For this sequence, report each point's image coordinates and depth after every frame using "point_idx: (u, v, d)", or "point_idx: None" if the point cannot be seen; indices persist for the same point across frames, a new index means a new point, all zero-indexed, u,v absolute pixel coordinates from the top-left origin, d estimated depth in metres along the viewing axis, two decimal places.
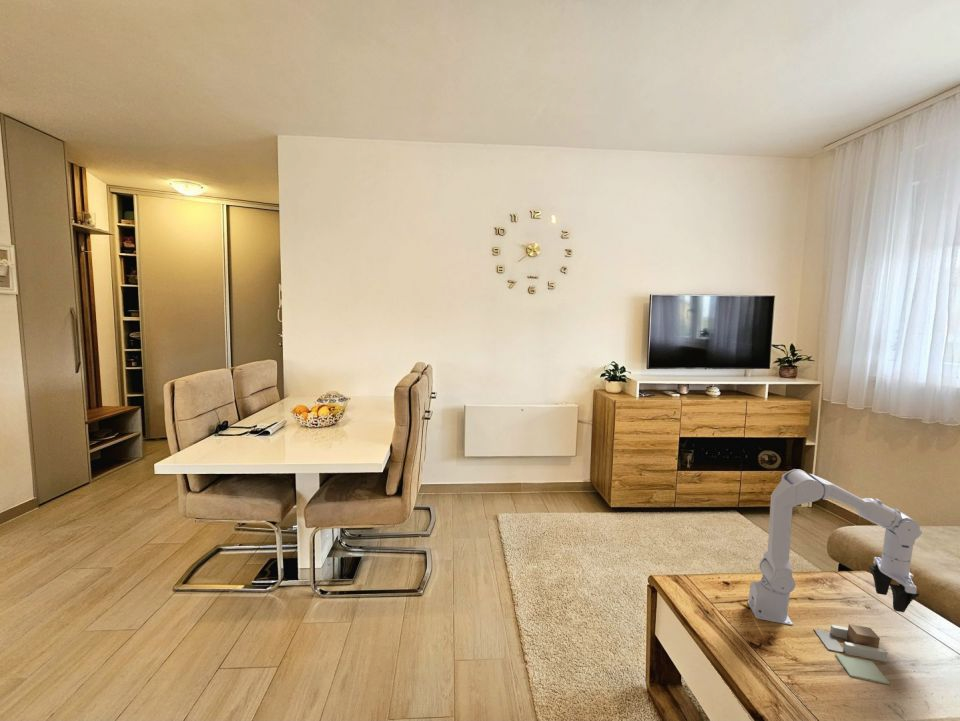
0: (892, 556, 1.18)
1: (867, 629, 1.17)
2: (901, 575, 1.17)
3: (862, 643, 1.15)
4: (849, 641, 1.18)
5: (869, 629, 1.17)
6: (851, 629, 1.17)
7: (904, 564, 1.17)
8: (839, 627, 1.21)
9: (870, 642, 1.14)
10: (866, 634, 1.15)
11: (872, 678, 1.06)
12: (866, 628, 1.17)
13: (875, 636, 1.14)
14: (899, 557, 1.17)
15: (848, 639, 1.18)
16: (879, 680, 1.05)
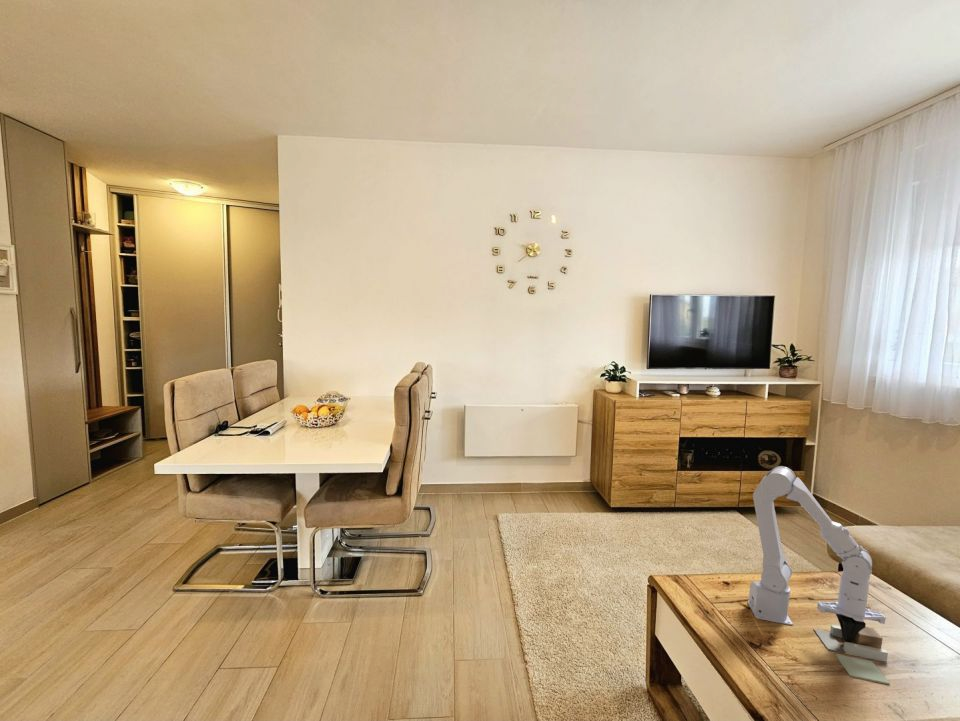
0: (842, 591, 1.16)
1: (870, 629, 1.16)
2: (838, 605, 1.17)
3: (865, 643, 1.14)
4: (852, 641, 1.18)
5: (872, 629, 1.17)
6: None
7: (841, 595, 1.16)
8: (839, 627, 1.21)
9: (872, 642, 1.14)
10: (869, 634, 1.15)
11: (872, 678, 1.06)
12: (868, 628, 1.17)
13: (878, 636, 1.14)
14: (848, 593, 1.14)
15: None
16: (879, 680, 1.05)
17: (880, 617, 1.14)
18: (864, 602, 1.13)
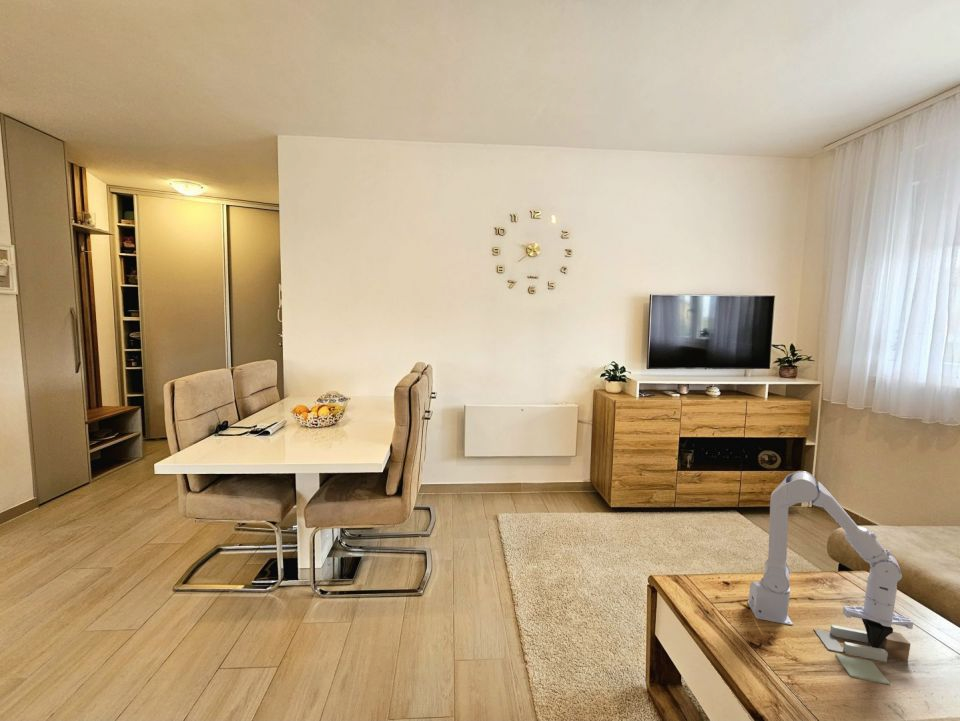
0: (870, 597, 1.14)
1: (897, 634, 1.15)
2: (865, 610, 1.16)
3: (892, 649, 1.13)
4: None
5: (899, 634, 1.15)
6: None
7: (867, 600, 1.15)
8: (839, 627, 1.21)
9: (900, 648, 1.12)
10: (896, 639, 1.13)
11: (872, 678, 1.06)
12: (895, 633, 1.15)
13: (906, 642, 1.12)
14: (877, 599, 1.13)
15: None
16: (879, 680, 1.05)
17: (908, 622, 1.12)
18: (892, 607, 1.12)
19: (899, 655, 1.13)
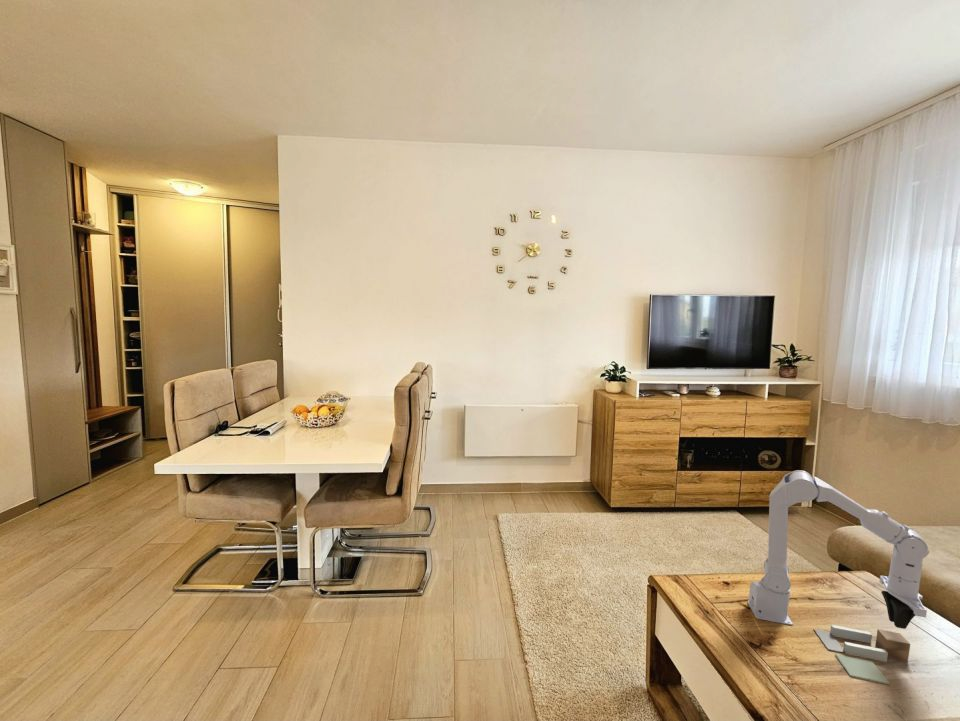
0: (896, 574, 1.12)
1: (897, 635, 1.15)
2: (910, 596, 1.10)
3: (892, 649, 1.13)
4: (878, 647, 1.16)
5: (899, 634, 1.15)
6: (880, 634, 1.16)
7: (913, 585, 1.10)
8: (839, 627, 1.21)
9: (900, 648, 1.12)
10: (896, 640, 1.13)
11: (872, 678, 1.06)
12: (895, 633, 1.15)
13: (906, 642, 1.12)
14: (903, 576, 1.11)
15: (876, 645, 1.17)
16: (879, 680, 1.05)
17: None
18: None
19: (899, 655, 1.13)
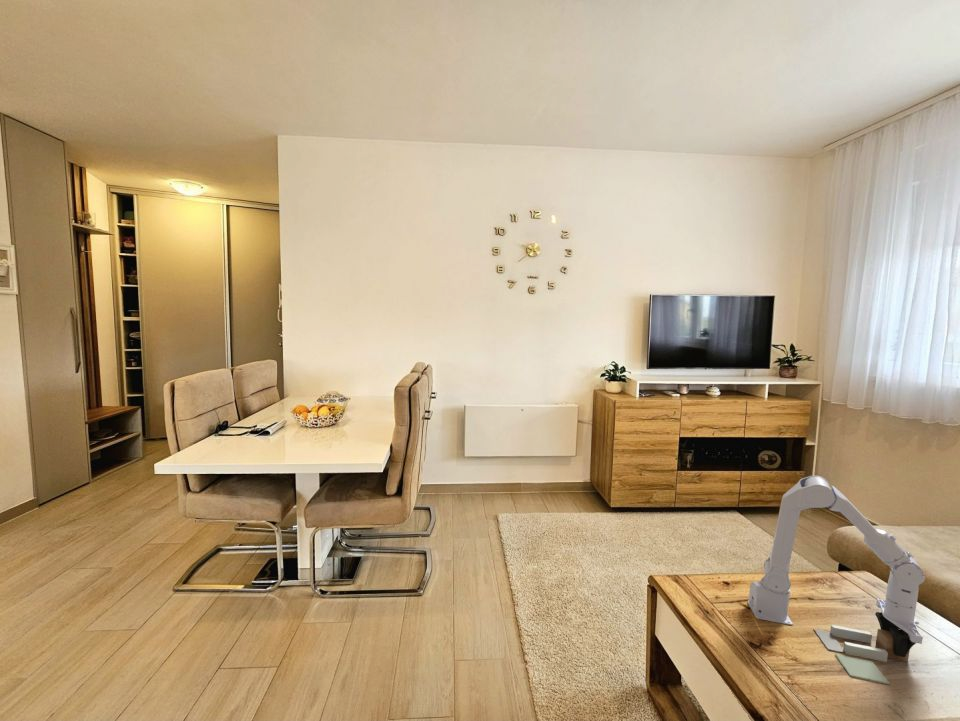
0: (892, 599, 1.13)
1: None
2: (906, 622, 1.11)
3: None
4: (878, 646, 1.16)
5: None
6: (880, 634, 1.16)
7: (909, 611, 1.11)
8: (839, 627, 1.21)
9: None
10: None
11: (872, 678, 1.06)
12: None
13: None
14: (899, 601, 1.11)
15: (877, 644, 1.17)
16: (879, 680, 1.05)
17: None
18: None
19: None
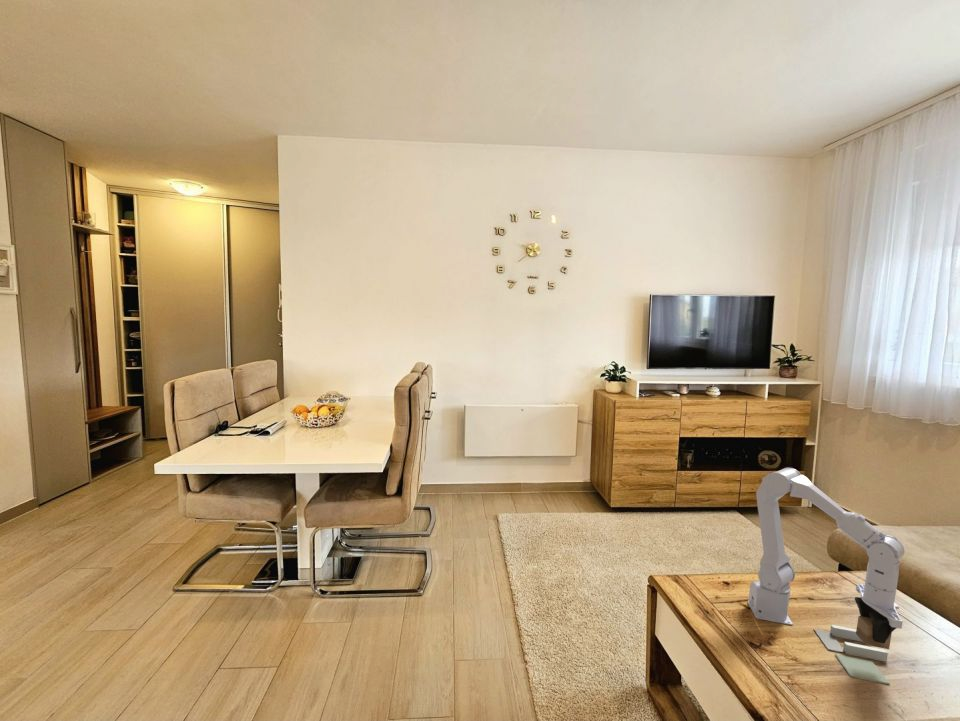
0: (867, 580, 1.09)
1: None
2: (886, 606, 1.06)
3: None
4: (859, 634, 1.11)
5: None
6: (861, 621, 1.10)
7: (889, 594, 1.05)
8: (839, 627, 1.21)
9: None
10: None
11: (872, 678, 1.06)
12: None
13: None
14: (872, 582, 1.07)
15: (857, 632, 1.12)
16: (879, 680, 1.05)
17: None
18: None
19: (880, 643, 1.08)
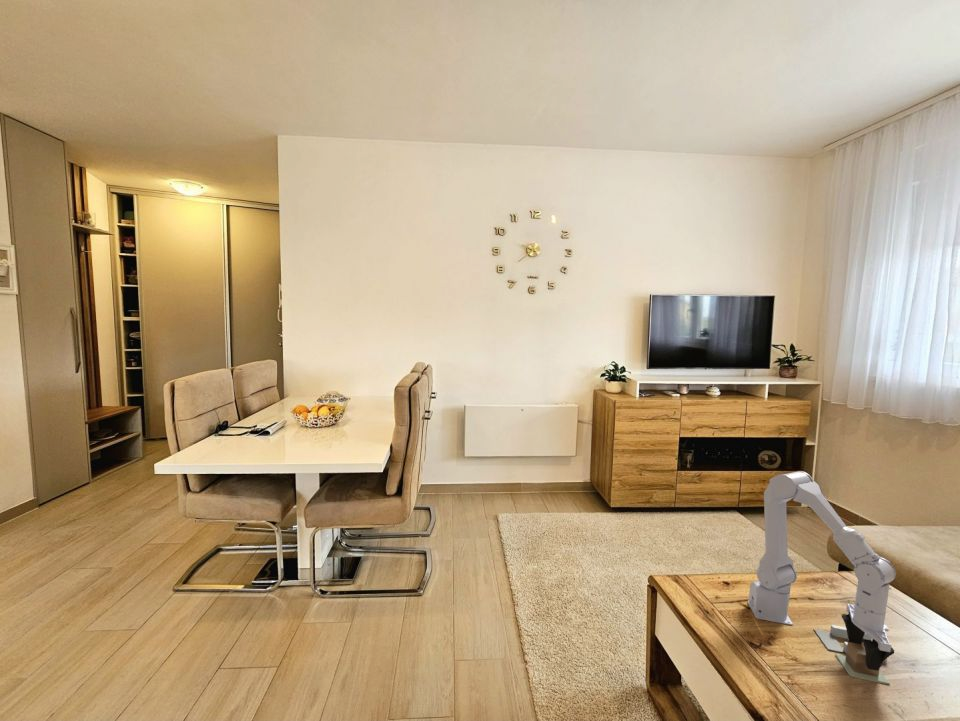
0: (856, 601, 1.08)
1: None
2: (875, 628, 1.05)
3: (863, 663, 1.07)
4: (848, 660, 1.10)
5: None
6: (850, 648, 1.10)
7: (878, 617, 1.05)
8: (839, 627, 1.21)
9: None
10: None
11: (872, 678, 1.06)
12: None
13: None
14: (860, 603, 1.07)
15: (847, 658, 1.11)
16: (879, 680, 1.05)
17: None
18: None
19: (869, 670, 1.07)
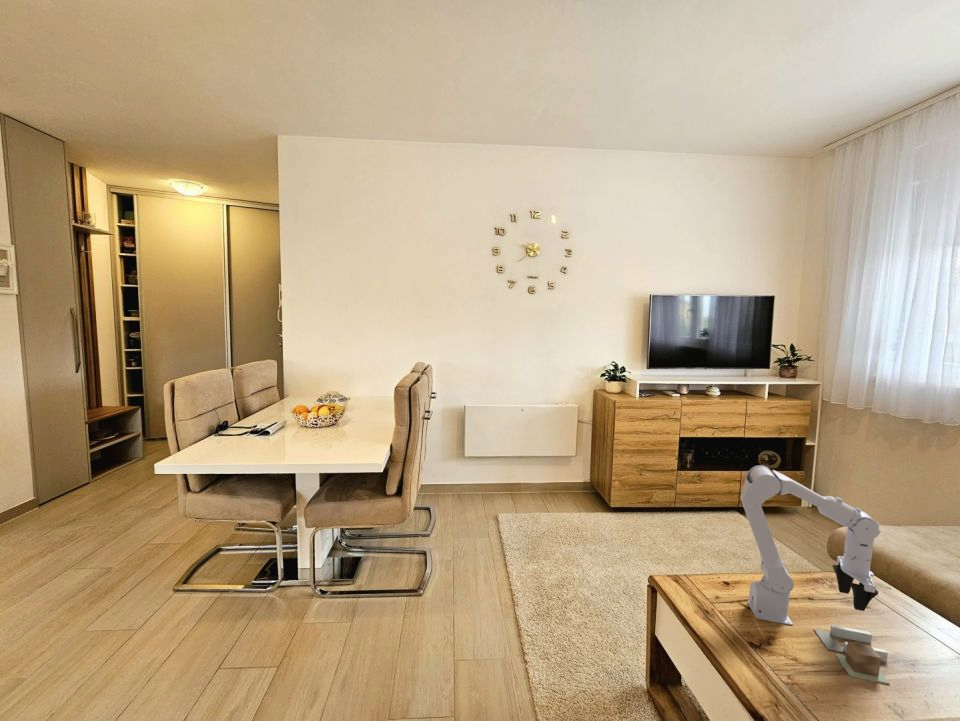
0: (851, 554, 1.19)
1: (868, 648, 1.09)
2: (861, 574, 1.18)
3: (863, 663, 1.07)
4: (848, 660, 1.10)
5: (870, 647, 1.09)
6: (850, 648, 1.10)
7: (864, 563, 1.17)
8: (839, 627, 1.21)
9: (870, 662, 1.07)
10: (866, 653, 1.07)
11: (872, 678, 1.06)
12: (866, 646, 1.10)
13: (876, 656, 1.06)
14: (858, 556, 1.18)
15: (847, 658, 1.11)
16: (879, 680, 1.05)
17: None
18: None
19: (869, 670, 1.07)
